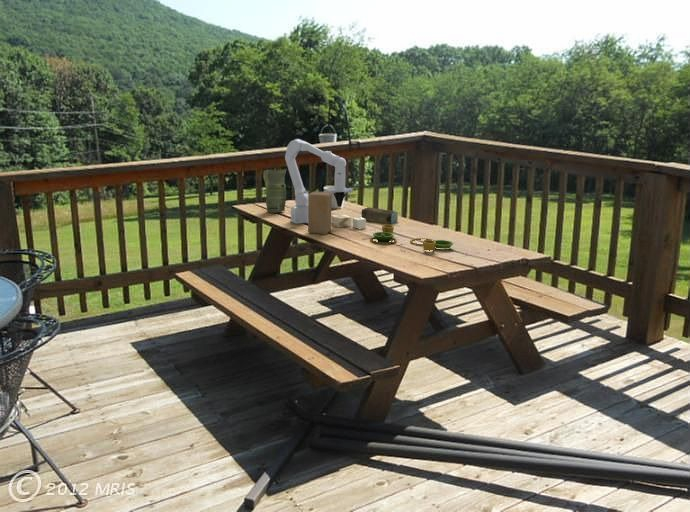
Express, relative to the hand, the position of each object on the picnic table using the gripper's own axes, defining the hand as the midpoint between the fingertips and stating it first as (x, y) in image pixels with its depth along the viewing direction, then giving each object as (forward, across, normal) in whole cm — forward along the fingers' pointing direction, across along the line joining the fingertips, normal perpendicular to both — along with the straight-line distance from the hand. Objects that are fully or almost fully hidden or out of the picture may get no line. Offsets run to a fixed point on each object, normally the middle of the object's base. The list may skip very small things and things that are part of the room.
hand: (339, 206), depth 356 cm
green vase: (+10, -20, +43) cm, 49 cm away
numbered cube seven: (+10, +6, -12) cm, 17 cm away
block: (+10, -18, -14) cm, 25 cm away
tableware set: (+10, +11, -52) cm, 54 cm away
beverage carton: (+10, +24, -1) cm, 26 cm away
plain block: (+10, 0, -4) cm, 10 cm away
